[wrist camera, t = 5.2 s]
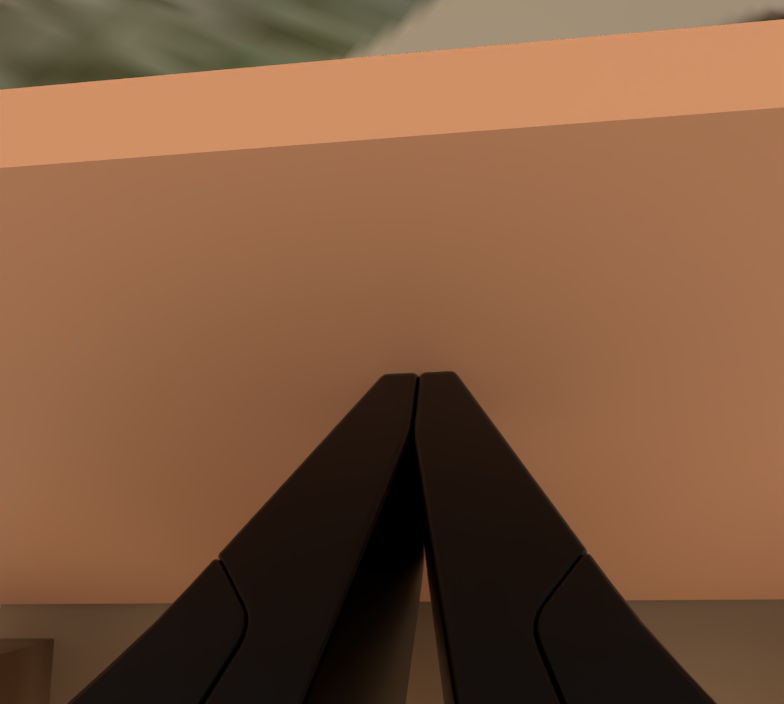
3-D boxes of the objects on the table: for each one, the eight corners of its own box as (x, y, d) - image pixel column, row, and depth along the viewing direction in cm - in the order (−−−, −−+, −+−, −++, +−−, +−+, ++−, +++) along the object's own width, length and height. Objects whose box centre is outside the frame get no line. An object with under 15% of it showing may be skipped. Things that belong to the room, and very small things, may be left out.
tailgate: (1014, 597, 11) (1699, 37, 5) (-34, 604, 13) (-544, 209, 7) (956, 494, 13) (1437, -62, 6) (7, 513, 15) (-391, 108, 8)
